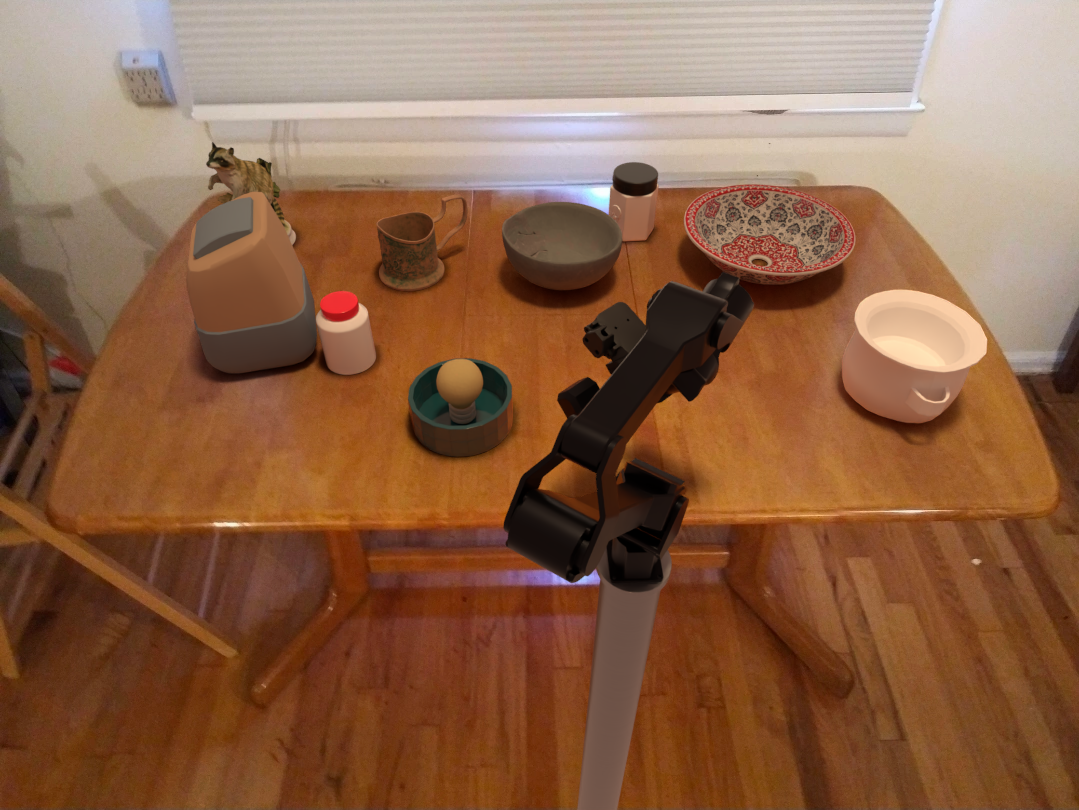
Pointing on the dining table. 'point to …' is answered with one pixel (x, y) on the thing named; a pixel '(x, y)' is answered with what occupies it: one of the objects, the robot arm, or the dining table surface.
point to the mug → (413, 248)
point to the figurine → (245, 180)
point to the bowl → (562, 244)
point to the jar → (634, 199)
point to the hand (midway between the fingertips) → (590, 391)
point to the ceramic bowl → (768, 232)
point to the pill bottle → (345, 333)
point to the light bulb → (460, 388)
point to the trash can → (249, 289)
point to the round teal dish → (453, 437)
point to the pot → (910, 354)
